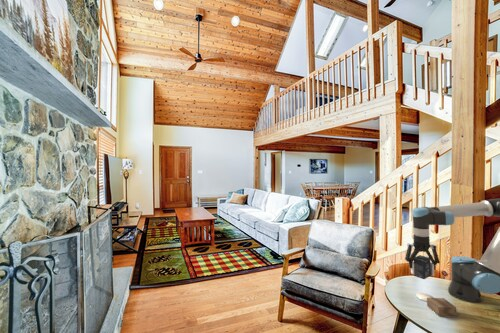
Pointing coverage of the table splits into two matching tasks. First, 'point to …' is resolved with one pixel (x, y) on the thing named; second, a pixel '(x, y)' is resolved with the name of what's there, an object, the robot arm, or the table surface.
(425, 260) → the box
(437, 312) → the block
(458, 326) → the table surface
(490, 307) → the table surface
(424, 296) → the coaster
